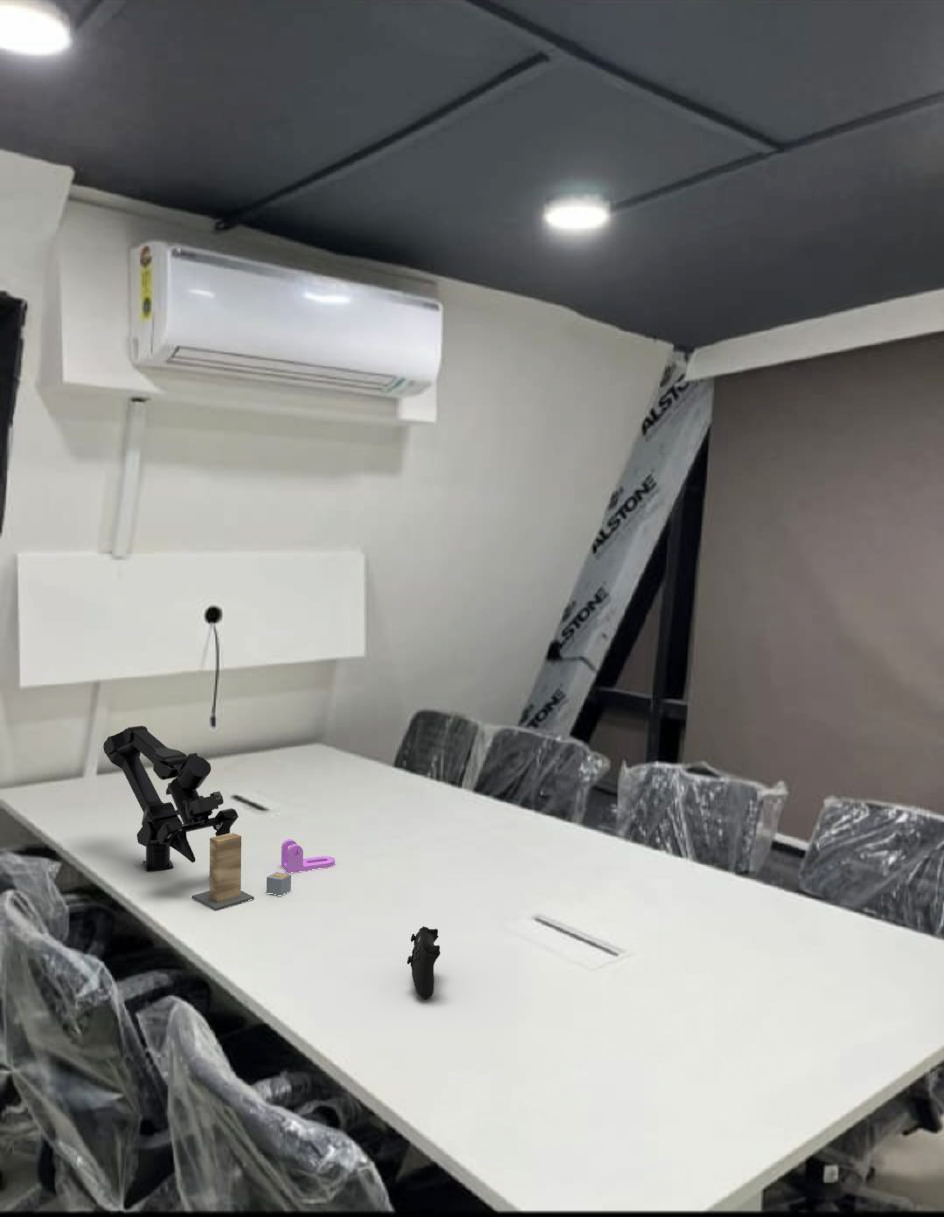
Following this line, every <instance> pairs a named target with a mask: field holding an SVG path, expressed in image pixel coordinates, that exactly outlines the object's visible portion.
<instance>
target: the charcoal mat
mask: <svg viewBox="0 0 944 1217" xmlns="http://www.w3.org/2000/svg"><path fill="white" fill-rule="evenodd" d="M191 899H192V900H194V901H197V902H198V903H200V904H202V905H204V906H205V907H208V908H209V909H211V910H213V911H220V910H222V909H227V908H230V907H233V906H236V905H240V904H243V903H242V902H244V903H246V902H245V901H247V902H249V901H248V900H250V899H254V900H255V896H253V895H251V894H249V893H246V892H245V891H243V890H241V896H239V897H236V898H232V899H229V900H225V901H222V902H216V901H214V900H212V899H210V898H209V890H208V891H204V892H200V893H197V894H193V895H191ZM250 901H251V900H250ZM229 906H230V907H229ZM226 907H227V908H226Z"/></svg>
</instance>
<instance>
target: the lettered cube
mask: <svg viewBox="0 0 944 1217" xmlns="http://www.w3.org/2000/svg"><path fill="white" fill-rule="evenodd" d="M291 890H292V874H288V873H286V872H284V873H283V872H280V871H275V872H274V873H272V874H270V875H268V876H266V894H267V893H273V894H276V895H283V894H284V893H286V894H288V893H290V892H291ZM289 891H290V892H289ZM287 892H288V893H287ZM276 895H275V896H276ZM283 896H284V895H283Z"/></svg>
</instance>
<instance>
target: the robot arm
mask: <svg viewBox="0 0 944 1217" xmlns="http://www.w3.org/2000/svg"><path fill="white" fill-rule="evenodd" d="M102 748H103V753H104V754H105V755H106V757H107V758H108V759H109V761H110V762H111V763H112V765H114V766H116V767H118V768H120V769H121V770H122V771H123V774H124V776H125V777H126V780H127V782H128V784H129V786H130V789H131V790H132V792H133V794H134V796H135V798H136V800H137V802H138V804H139V806H140V808H141V811H142V813H143V815H142V820H141V828H140V830H138V832H137V833H136V839H137V843H138V844H140V845H141V846H143V847H145V860H143V861H142V865H143V867H144V870H145V871H147V872H150V871H159V870H166V869H168V870H169V869H173V868H174V864H173V862H172V861H171V848H172V849H174V850H175V851H177V852H178V853H179V854H181V855H182V856H183V857H184V858H186V859H187V860H188V861H190V862H191V863H192V864H194V863H195V862H196V857H195V854H194V851H193V850H192V847H191V845H190V842H189V841H188V838H187V836H188V835H187V833H188V832H193V831H196V830H202V829H206V828H211V827H212V828H213V830H215V831H216V832H215V833H214V835H215V837H216V836H220V835H225V834H229V833H231V827H232V826H233V825H234V824H235V822H236V821H237V819H238V818H239V815H238V812H237V810H236V809H234V808H232V807H231V808H226V809H221V810H219V811H218V813H217V814H216V815H215V817H210V816H212V814H213V813H214V812H213V811H214V810H218V809H219V806H221V805H223V804H224V797H223V794H222V793H221V791H220V790H219V791H213V792H211V793H210V794H209V796H203V795H200V794H199V792H198V789H199V788H200V787H201V786H202V784H203V783H204V782H205V781H206V779H207V778H208V776H209V775H210V773H211V771H212V766H211V763H210V762H209V761H208V760H206V759H205V758H203V757H201V756H199V755H198V753H197V752H194V753H189V754H188V755H187V754H186V753H184V752H183V751H181V750H178V749H174V748H169V747H167V746H166V745H165V744H163V742H161V741H160V740H159V739H158V738H156V736H154V735H153V734H152V733H151V732H149V730H148V728H147V727H146V726H144V725H136V726H129V727H126V728H125V729H124V730H122V731H121V732H118V733H115V734H114V735H110V736H108V737H107V738H106V739H105V741H104V742H103V747H102ZM141 754H142V755H143V756H144V757H146V759H147V760H149V761H150V763H152V764H153V765H152V766H153V767H152V769H153V772H154V774H156V776H157V777H158V779H160V780H161V781H165V780H169V779H171V780H172V779H173V780H172V781H171V782H169V783H168V784H167V787H166V789H165V790H166V791H165V794H166V796H167V795H171V797H172V800H173V803H174V804H175V806H174V804H173V803H172V802H171V801H167V802H164V801H162V800H161V798H160V795H159V793H158V792H157V789H156V787H155V786H154V783H153V782H152V780H151V777H150V776H149V774H148V771H147V770H146V768H145V765H144V764H143V761H142V760H141V758H140V756H141ZM175 807H176V808H175Z"/></svg>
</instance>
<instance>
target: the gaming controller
mask: <svg viewBox="0 0 944 1217" xmlns="http://www.w3.org/2000/svg"><path fill="white" fill-rule="evenodd" d="M438 939H439V929H437V928H429V927H427V926H423V925H422V927H420V928H419V930H418V932H417V933H416V935H415V933H412V934H411V938H410V943H413V949H412V950H411V955H409V956H407V961H406V964H407V965H410V968H411V976H412V981H413V985H414V989H415V992H416V993H417V995H418V996H419V997H420V998H421V999H423V1000H428V999H430V998H431V997H432V996H433V994H434V988H435V976H434V975H435V974H434V973H435V972H434V971H435V970H434V969H435V963H436V961H437V959H438V958H439V956H440V955H441V951H440V949H441V946H440V945H439V944H437V945H435V942H436V941H437V940H438Z"/></svg>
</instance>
